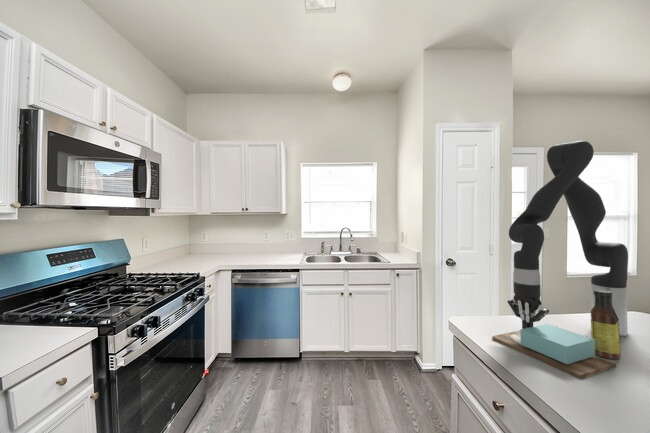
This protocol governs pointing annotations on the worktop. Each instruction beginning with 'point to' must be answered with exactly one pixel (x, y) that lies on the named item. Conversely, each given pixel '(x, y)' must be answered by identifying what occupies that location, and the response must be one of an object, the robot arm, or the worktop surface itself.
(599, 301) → the sauce bottle
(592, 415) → the worktop surface
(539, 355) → the walnut board
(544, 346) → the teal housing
